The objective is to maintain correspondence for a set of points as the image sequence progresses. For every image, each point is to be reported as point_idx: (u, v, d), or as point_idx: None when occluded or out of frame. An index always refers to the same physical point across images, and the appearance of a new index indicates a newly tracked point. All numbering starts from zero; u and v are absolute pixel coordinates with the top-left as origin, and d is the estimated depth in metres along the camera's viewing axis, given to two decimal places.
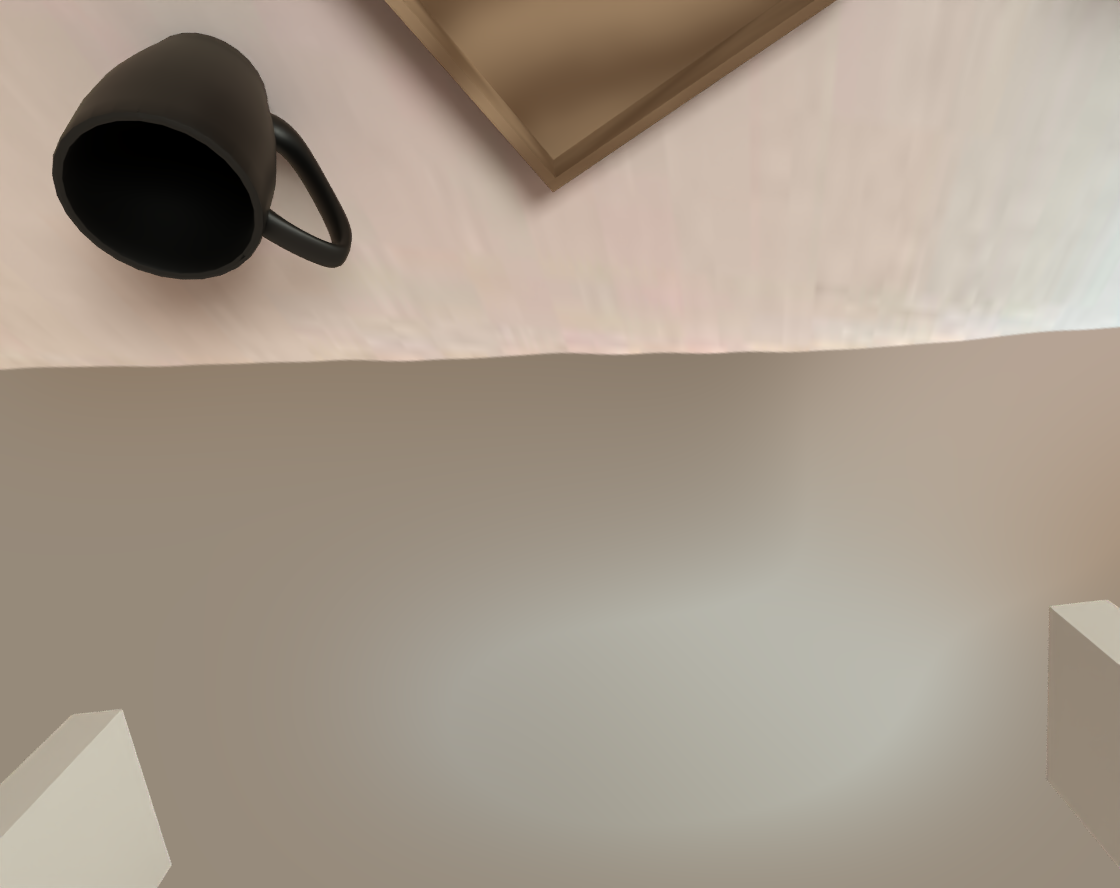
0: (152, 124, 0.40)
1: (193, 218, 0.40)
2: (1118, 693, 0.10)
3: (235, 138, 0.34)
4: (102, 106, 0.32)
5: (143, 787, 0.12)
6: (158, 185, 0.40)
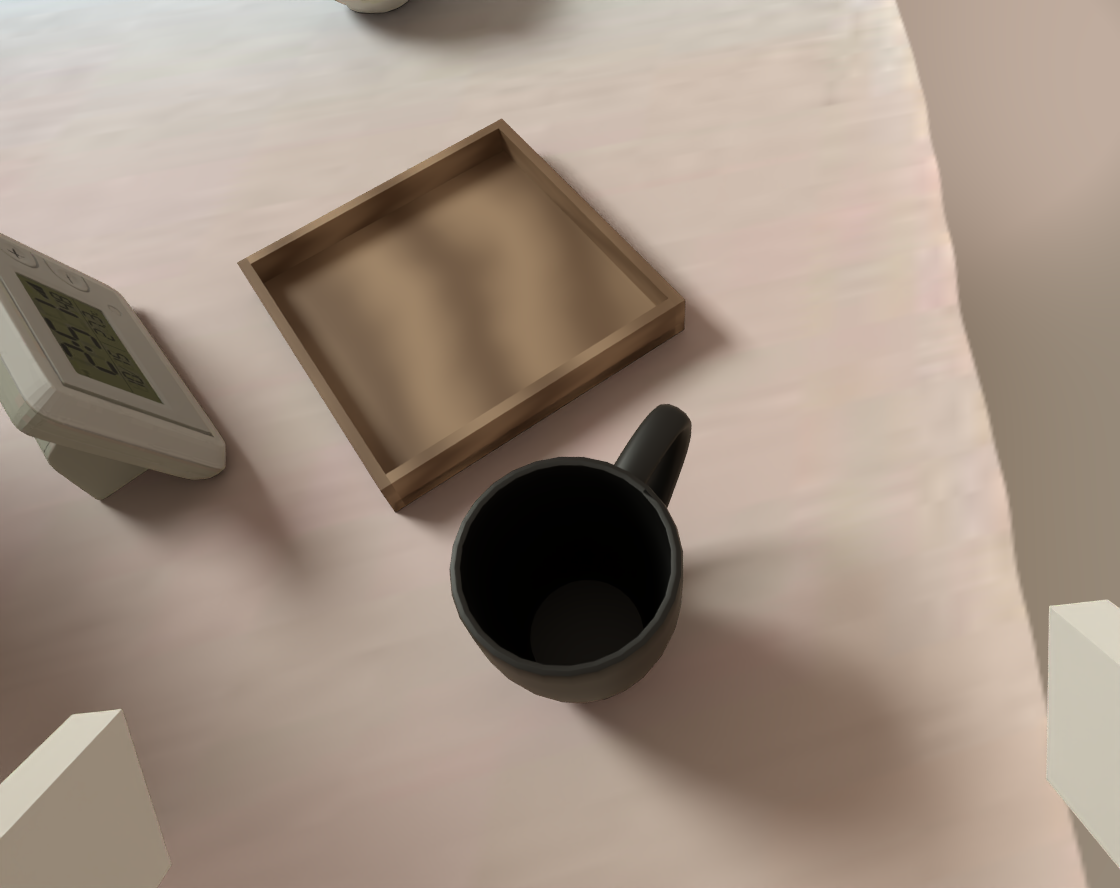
0: None
1: None
2: (1119, 694, 0.10)
3: None
4: None
5: (143, 787, 0.12)
6: None
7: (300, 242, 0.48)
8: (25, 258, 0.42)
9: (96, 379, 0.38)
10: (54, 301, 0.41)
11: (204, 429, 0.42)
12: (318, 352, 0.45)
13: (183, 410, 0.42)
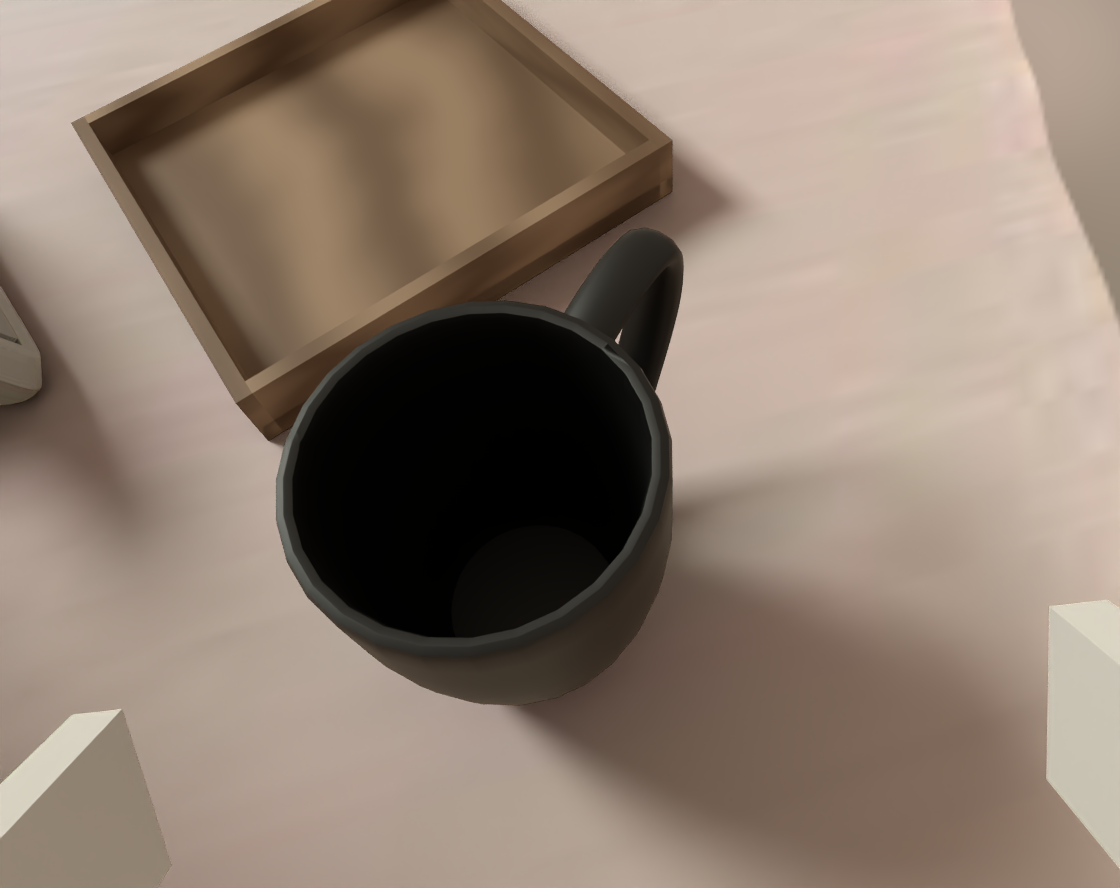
0: None
1: None
2: (1118, 694, 0.10)
3: None
4: None
5: (143, 787, 0.12)
6: None
7: (158, 97, 0.36)
8: None
9: None
10: None
11: (5, 333, 0.30)
12: (176, 235, 0.33)
13: None
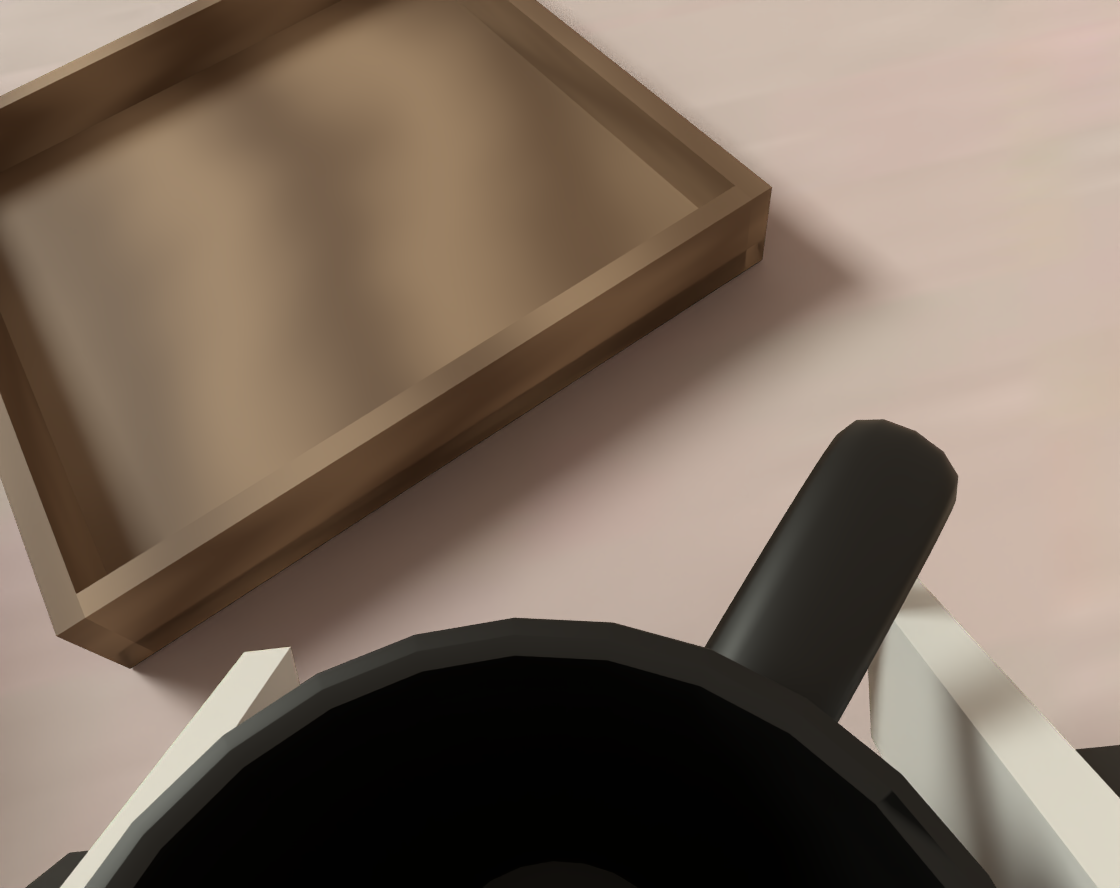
0: None
1: None
2: (901, 655, 0.11)
3: None
4: None
5: None
6: None
7: (16, 115, 0.25)
8: None
9: None
10: None
11: None
12: (24, 320, 0.23)
13: None
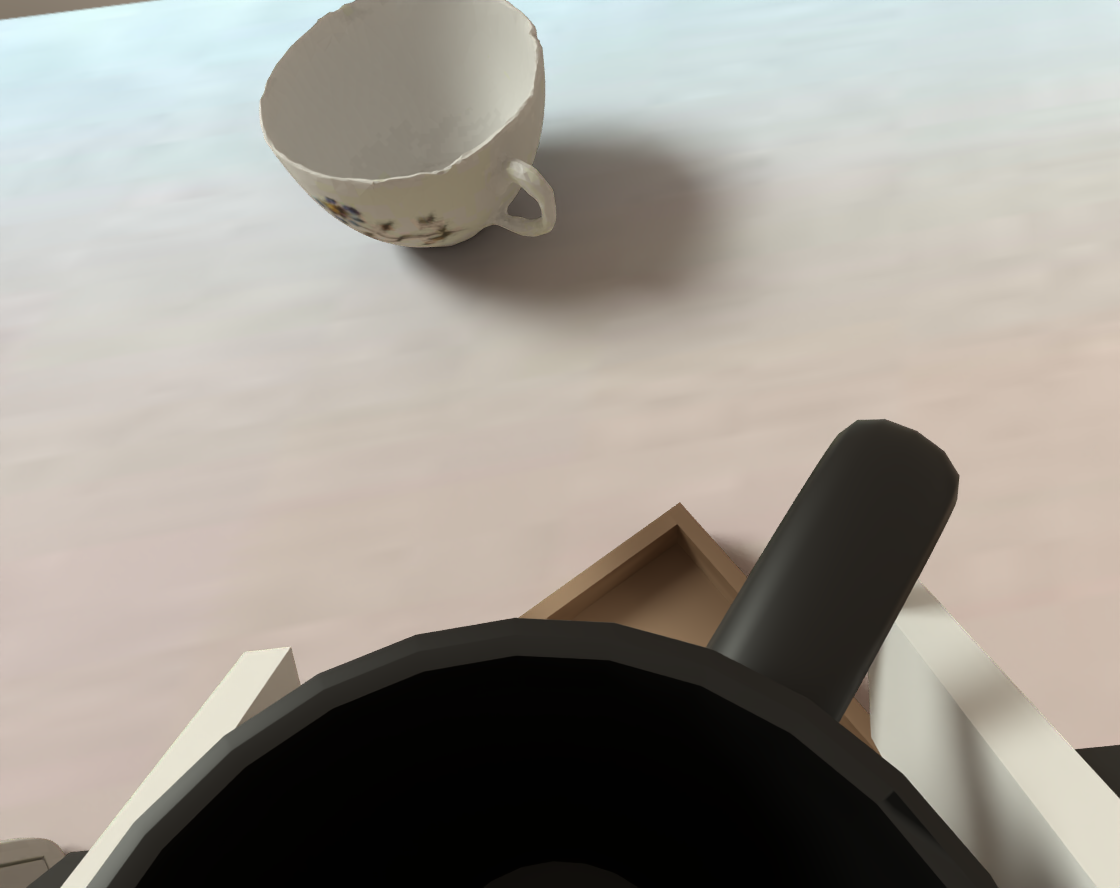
0: None
1: None
2: (900, 654, 0.11)
3: None
4: None
5: None
6: None
7: None
8: None
9: None
10: None
11: None
12: None
13: None
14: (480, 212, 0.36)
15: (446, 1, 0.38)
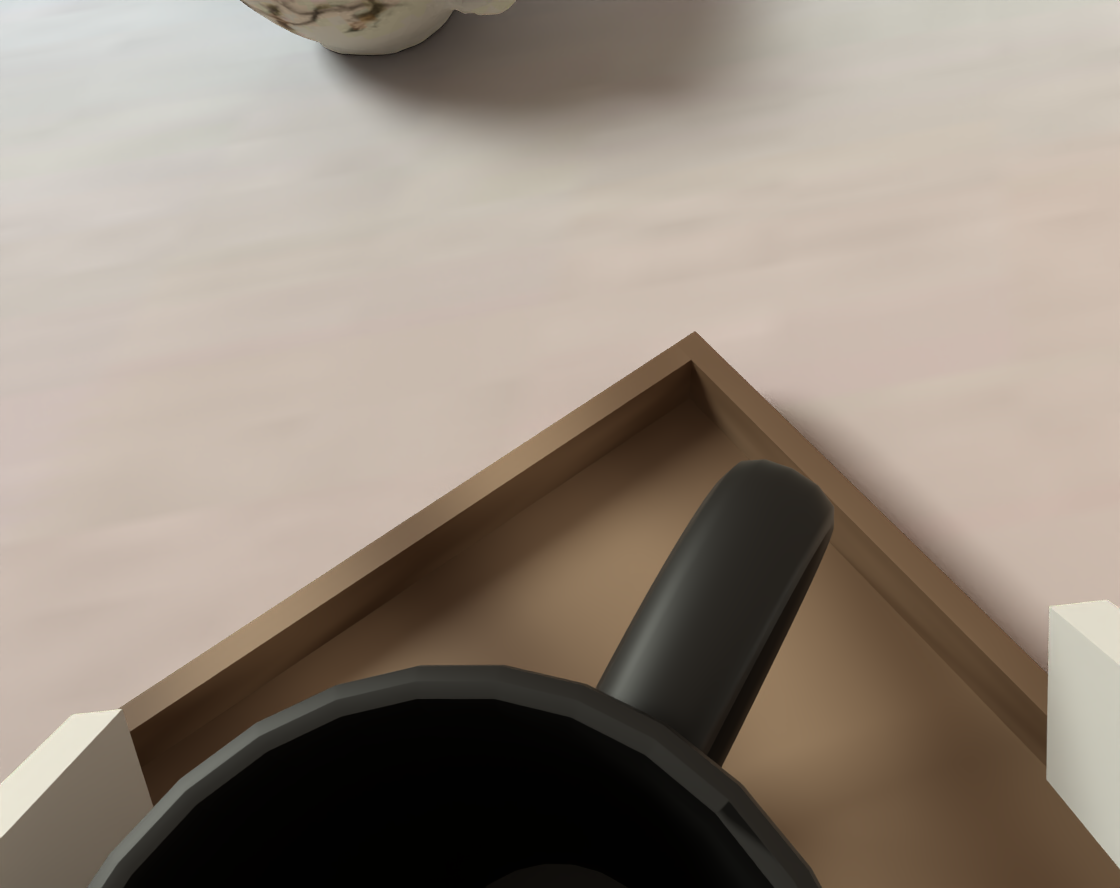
0: None
1: None
2: (1118, 694, 0.10)
3: None
4: None
5: (143, 787, 0.12)
6: None
7: (176, 710, 0.17)
8: None
9: None
10: None
11: None
12: None
13: None
14: None
15: None
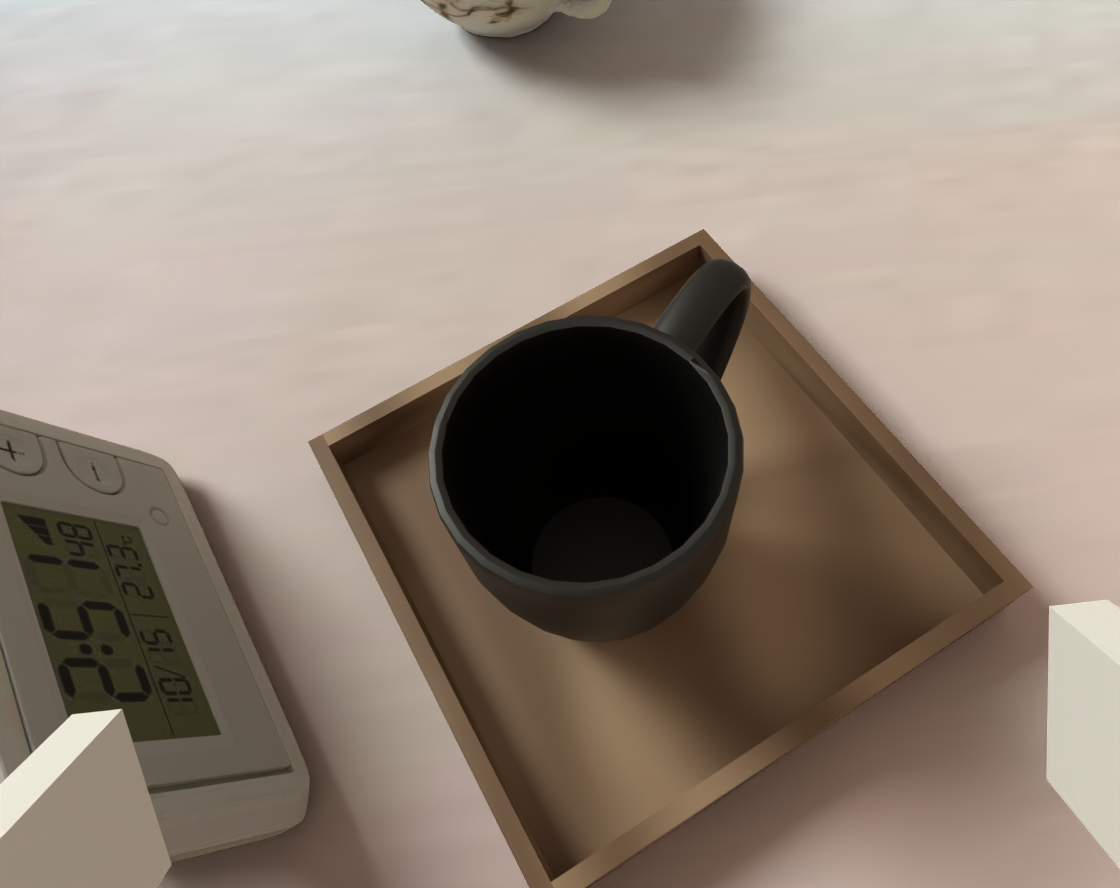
0: None
1: None
2: (1119, 693, 0.10)
3: None
4: None
5: (143, 787, 0.12)
6: None
7: (403, 411, 0.32)
8: (26, 456, 0.26)
9: None
10: (63, 545, 0.25)
11: (280, 763, 0.26)
12: (427, 598, 0.30)
13: (250, 730, 0.26)
14: None
15: None
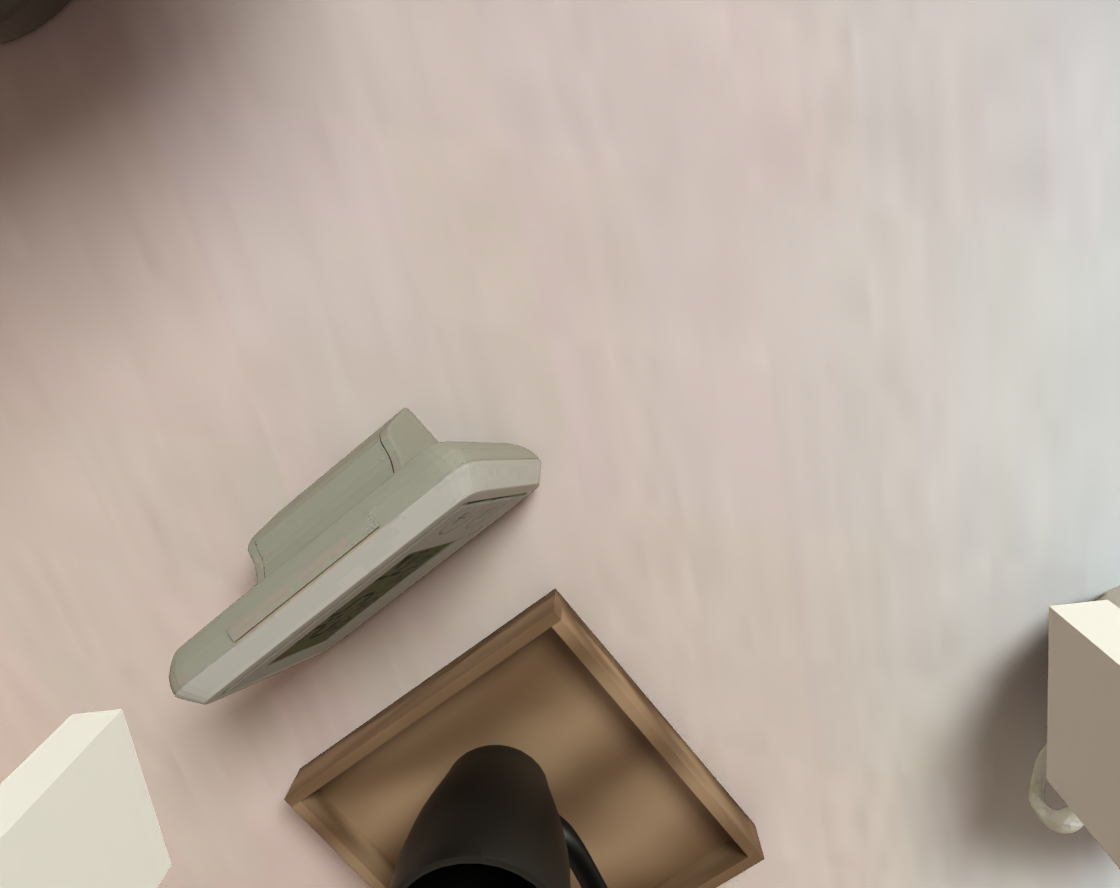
0: None
1: None
2: (1118, 693, 0.10)
3: (553, 870, 0.36)
4: (447, 848, 0.35)
5: (143, 787, 0.12)
6: (447, 887, 0.41)
7: None
8: (462, 520, 0.34)
9: (281, 659, 0.35)
10: (402, 566, 0.35)
11: (327, 648, 0.41)
12: None
13: (338, 637, 0.40)
14: None
15: None
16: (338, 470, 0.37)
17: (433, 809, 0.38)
